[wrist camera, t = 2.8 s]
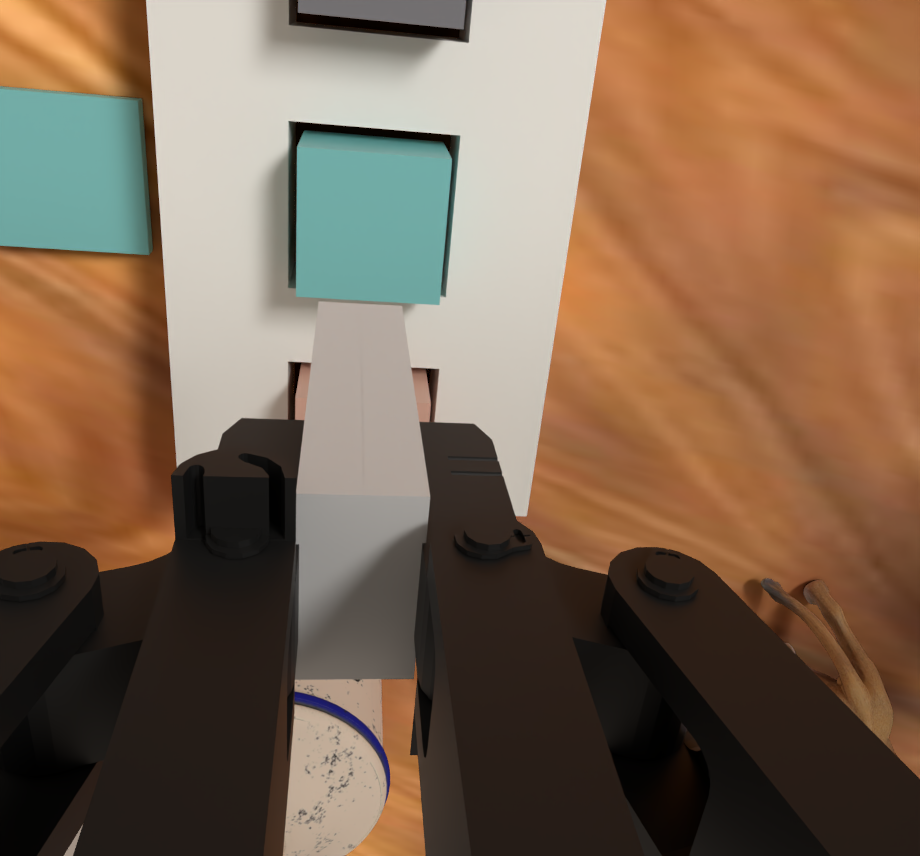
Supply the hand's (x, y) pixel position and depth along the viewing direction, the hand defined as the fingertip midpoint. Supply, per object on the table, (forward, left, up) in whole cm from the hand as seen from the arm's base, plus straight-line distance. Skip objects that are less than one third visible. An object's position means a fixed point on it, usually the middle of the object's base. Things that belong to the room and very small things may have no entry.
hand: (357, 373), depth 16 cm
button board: (0, 0, -16) cm, 16 cm away
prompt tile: (+10, 0, -16) cm, 18 cm away
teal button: (0, 0, -14) cm, 14 cm away
